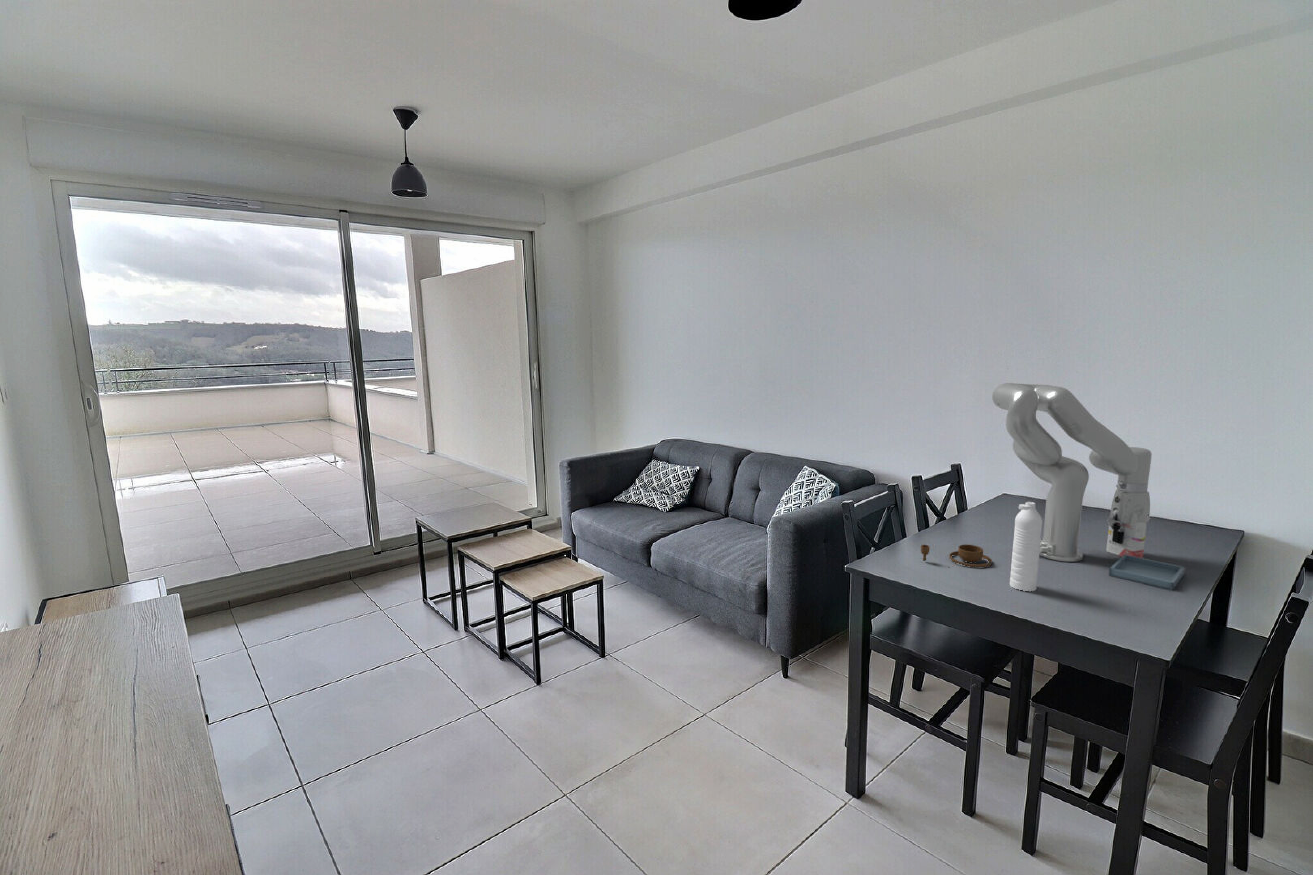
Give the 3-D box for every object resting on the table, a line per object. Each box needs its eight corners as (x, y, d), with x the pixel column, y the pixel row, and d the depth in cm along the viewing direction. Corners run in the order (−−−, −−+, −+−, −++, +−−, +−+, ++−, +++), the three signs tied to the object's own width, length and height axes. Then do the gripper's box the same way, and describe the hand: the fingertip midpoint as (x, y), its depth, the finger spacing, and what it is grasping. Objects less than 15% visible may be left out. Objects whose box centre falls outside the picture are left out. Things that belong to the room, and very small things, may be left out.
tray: (1172, 590, 169) (1173, 583, 168) (1108, 575, 179) (1109, 568, 179) (1184, 574, 179) (1185, 567, 179) (1123, 560, 190) (1124, 554, 190)
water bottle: (1014, 580, 177) (1022, 497, 173) (1039, 587, 172) (1047, 502, 168) (1002, 589, 172) (1009, 503, 167) (1027, 596, 167) (1035, 508, 163)
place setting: (990, 576, 182) (992, 557, 181) (918, 565, 192) (919, 547, 191) (991, 556, 197) (992, 539, 196) (924, 547, 207) (925, 530, 206)
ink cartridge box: (1143, 558, 192) (1149, 513, 189) (1132, 560, 190) (1137, 515, 188) (1116, 549, 200) (1121, 506, 197) (1105, 551, 199) (1110, 507, 196)
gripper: (1119, 491, 186) (1112, 547, 189) (1167, 488, 189) (1160, 543, 192) (1098, 485, 194) (1092, 539, 197) (1144, 482, 196) (1137, 536, 199)
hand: (1125, 541), depth 194 cm, fingers closed on ink cartridge box, 5 cm apart
